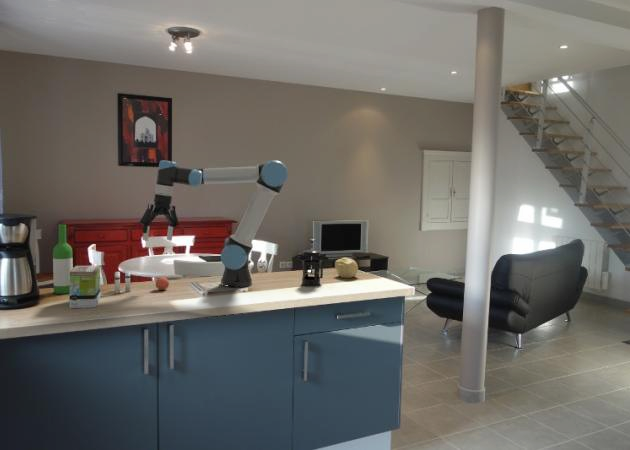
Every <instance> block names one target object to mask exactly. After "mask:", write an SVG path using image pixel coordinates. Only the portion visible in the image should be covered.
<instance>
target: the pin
mask: <svg viewBox="0 0 630 450" xmlns="http://www.w3.org/2000/svg"><path fill="white" fill-rule="evenodd" d="M120 293H121V273H120V274H115V273H114V294H115V295H118V294H120Z"/></svg>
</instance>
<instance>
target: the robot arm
mask: <svg viewBox="0 0 630 450" xmlns="http://www.w3.org/2000/svg"><path fill="white" fill-rule="evenodd" d="M288 176H289V171H288V168H287V165H286V164H284V162H281V161H280V160H274V159H273V160H272V159H271V160H269V161H267V162H266V163H258V164H256V165H255V166H237V167H236V166H231V167H210V168H187V167H180V166H177V162H175V161H170V160H163V159H162V160H160V161H159V165H158V169H157V177H156V178H157V179H156V183H155V184H156V185H155V194H154V200H153V202H154V204H151V203H148V204H147V208H146V210H145V212H144V214H143V215H142V218H141V219H140V220H139V224H140V225H141V226H142V231H141V232H142V240H143V241H146V242H148V241H149V234H150V224H151V223H152V222H153V221H154V220H155V218H156V217H158V216H164V217H165V219H166V220H167V222H168V224H169V225H168V227H167V235H166V240H167V241H169V242H170V241H171V242H172V240H173V234H174V233H175V228H177V226H179V225H180V224H179V220H178V216H177V212H176V206H175V205H173V204H172V199H173V196H172V195H173V191H174V184H179V185H186V186H190V187H200V186H201V185H215V184H216V185H217V184H240V183H241V184H242V183H255V184H256V186H257V188H256V189H255V192H254V194H253V196H252V197H251V199H250V200H251V201H250V202H249V204H248V206H247V209H246V211H244V214H243V216H242V217H241V218H242V219H241V221H240V223H239V225H238V227H237V228H236V230H235V233H234V234H230V236H229V237H227V238H225V240H224V248H223V249H222V250H221V251H220V259H221V261H220V262H221V263H222V264H223V265H224V270H223V274H222V276H221V279H220V285H221V284H223V285H228V286H240V287H239V288H245V287H246V288H247V287H250V286H252V285H253V279H252V276H251V272H250V268H249V266H250V265H249V263H250V262H249V261H250V254H251V251H252V249H253V248H254V245H253V239H254V238H255V236H256V234H257V232H258V231H259V230H258V229H259V228H260V225H261V223H262V222H263V220H264V218H265V215H266V214H267V211H268V210H269V208H270V205H271V203H272V201H273V199H274V197H275V196H277V195H279V194H280V192H281V191H282V189H283V186H284V185H285V183H286V181H287V179H288Z"/></svg>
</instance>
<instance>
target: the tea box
mask: <svg viewBox="0 0 630 450" xmlns="http://www.w3.org/2000/svg"><path fill="white" fill-rule="evenodd" d="M100 300H101V265H75V266H74V267H73V269H72V270H71V271H70V293H69V305H68V306H69V309H82V308H84V309H85V308H87V309H89V308H96V307H97V305H98V304H99V301H100Z"/></svg>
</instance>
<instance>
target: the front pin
mask: <svg viewBox="0 0 630 450" xmlns="http://www.w3.org/2000/svg"><path fill="white" fill-rule="evenodd" d="M124 275H125V277H124V278H125V279H124V281H125V282H124V283H125V288H124V289H125V292H126V293H130V292H131V272H125V274H124Z"/></svg>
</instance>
